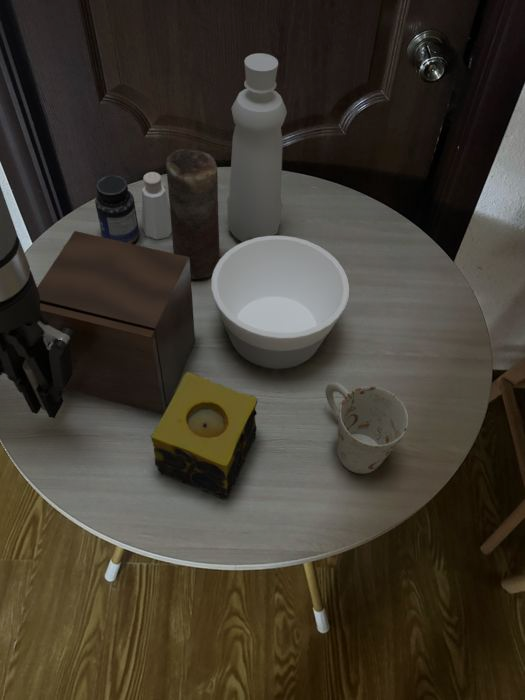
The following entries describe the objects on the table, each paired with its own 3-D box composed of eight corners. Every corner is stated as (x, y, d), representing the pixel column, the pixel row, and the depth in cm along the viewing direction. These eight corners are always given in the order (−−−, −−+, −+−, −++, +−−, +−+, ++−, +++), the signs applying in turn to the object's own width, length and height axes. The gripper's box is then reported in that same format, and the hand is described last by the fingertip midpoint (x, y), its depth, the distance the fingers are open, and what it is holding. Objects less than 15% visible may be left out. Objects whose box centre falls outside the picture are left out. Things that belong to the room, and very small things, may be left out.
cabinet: (167, 407, 85) (155, 328, 71) (62, 380, 87) (30, 297, 73) (195, 341, 92) (189, 256, 78) (97, 317, 94) (74, 230, 80)
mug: (356, 494, 79) (371, 458, 71) (296, 423, 84) (303, 383, 76) (403, 460, 82) (423, 422, 74) (342, 394, 88) (354, 352, 80)
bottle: (281, 214, 109) (296, 47, 85) (278, 250, 104) (293, 83, 80) (229, 210, 110) (230, 42, 85) (224, 246, 104) (223, 77, 80)
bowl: (309, 273, 101) (317, 223, 93) (359, 364, 91) (373, 317, 82) (196, 300, 97) (193, 250, 88) (235, 399, 86) (236, 353, 78)
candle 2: (189, 409, 85) (185, 368, 77) (257, 435, 83) (260, 395, 75) (154, 473, 79) (146, 435, 71) (227, 501, 77) (227, 466, 69)
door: (146, 454, 80) (130, 381, 67) (36, 425, 82) (-3, 347, 68) (166, 408, 85) (154, 330, 71) (61, 381, 87) (29, 300, 73)
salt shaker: (140, 239, 104) (132, 187, 95) (144, 217, 107) (137, 165, 99) (172, 240, 104) (167, 188, 95) (175, 219, 108) (171, 166, 99)
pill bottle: (102, 226, 106) (91, 173, 97) (138, 223, 106) (130, 170, 98) (103, 251, 102) (91, 199, 93) (140, 248, 103) (132, 195, 94)
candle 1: (184, 244, 104) (176, 141, 88) (225, 254, 103) (225, 151, 87) (168, 275, 99) (156, 173, 83) (211, 286, 99) (208, 185, 83)
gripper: (-101, 291, 58) (-21, 417, 77) (43, 326, 57) (89, 446, 76) (-56, 238, 63) (9, 369, 82) (78, 270, 61) (113, 396, 80)
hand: (47, 406), depth 79 cm, fingers closed on door, 2 cm apart
